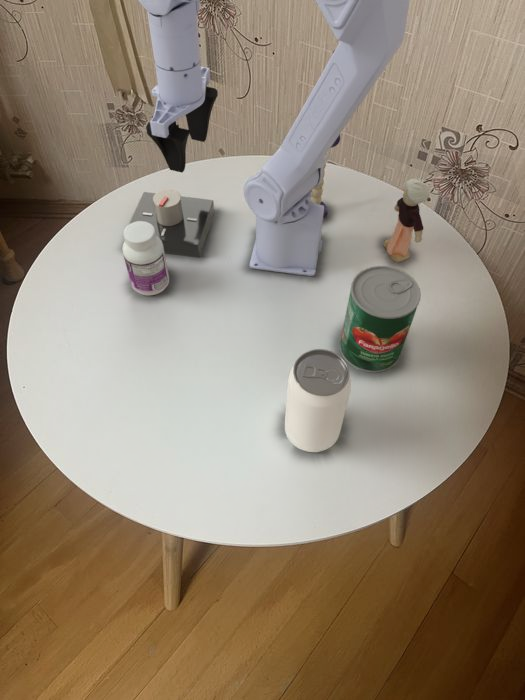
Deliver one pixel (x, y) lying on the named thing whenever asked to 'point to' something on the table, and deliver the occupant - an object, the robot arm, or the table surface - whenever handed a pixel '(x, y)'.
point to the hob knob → (168, 207)
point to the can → (316, 400)
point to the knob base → (179, 224)
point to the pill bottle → (145, 258)
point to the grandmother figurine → (407, 220)
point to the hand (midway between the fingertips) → (188, 154)
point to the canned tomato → (378, 318)
